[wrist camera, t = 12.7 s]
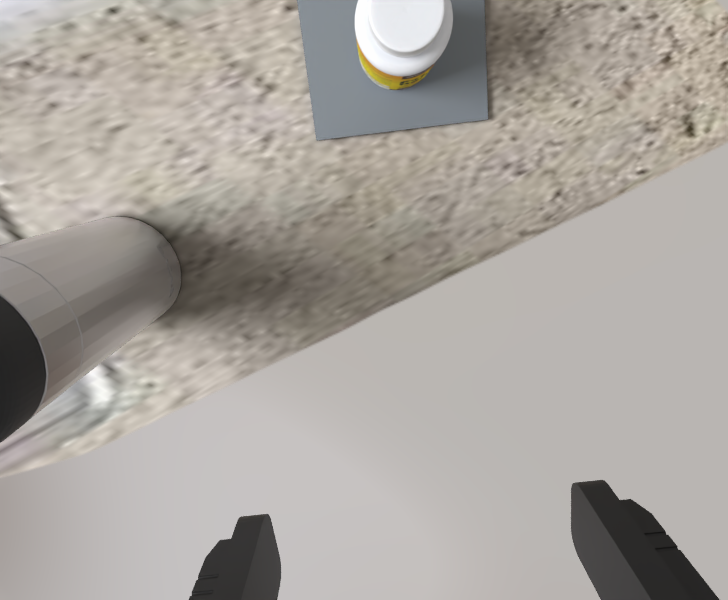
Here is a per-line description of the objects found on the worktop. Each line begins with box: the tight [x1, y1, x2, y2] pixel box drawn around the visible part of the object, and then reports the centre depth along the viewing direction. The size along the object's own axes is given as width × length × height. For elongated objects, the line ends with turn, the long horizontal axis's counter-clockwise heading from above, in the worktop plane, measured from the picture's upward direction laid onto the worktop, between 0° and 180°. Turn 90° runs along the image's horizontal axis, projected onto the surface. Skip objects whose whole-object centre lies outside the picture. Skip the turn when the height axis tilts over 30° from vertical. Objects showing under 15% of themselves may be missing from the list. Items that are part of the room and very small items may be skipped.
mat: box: [297, 0, 488, 140], centre depth 34 cm, size 13×11×1 cm
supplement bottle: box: [355, 0, 453, 90], centre depth 29 cm, size 6×6×10 cm
